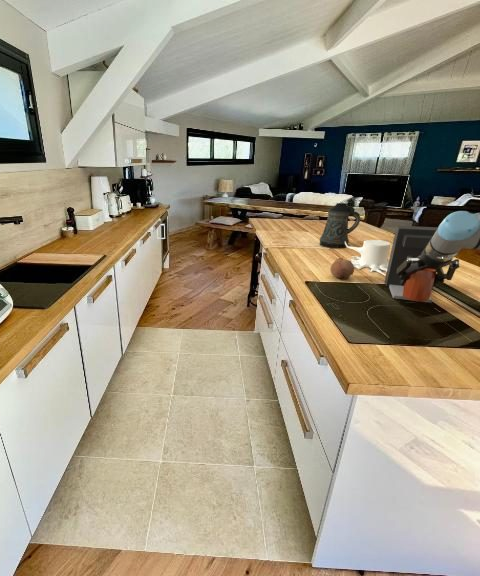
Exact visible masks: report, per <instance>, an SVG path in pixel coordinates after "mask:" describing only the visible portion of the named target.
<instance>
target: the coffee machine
mask: <svg viewBox="0 0 480 576" xmlns="http://www.w3.org/2000/svg"><path fill="white" fill-rule="evenodd" d="M437 229H438V226H436V227H435V226H415V225H414V226H413V225H396V227H395V232H394V237H393V240H392V244H391V250H390V253H389V254H390V255H389V258H388V259H389V260H388V261H389V262H388V263H389V264H388V268H387V272H385V274H386V276H385V277H384V278H385V279H384V284H385V285H384V286H385V287H386V288H388V289H389V291H390V294H391V296H392V299H396V300H405V301H412V302H415V301H414V300H410V299H407V298H405V297H403V296H402V292H403V288H404V285H403V286H401V280H400V276H398V275H397V268H398V267H399V266H400V265H401V264H402V263H403V262H404V261H405V260H407V256H411V257H412V258H417V257H419V256H421V254H422V252H423V250H424V249H425V247H426V246H427V244H428V243H429V241H430V240H431V238H432V237H433V235H434V234H435V232H436V230H437ZM415 263H416V262H415ZM415 263H413V264H415ZM404 284H405V283H404ZM419 302H421V303H429V304H432V303H433V299H432V297H431V296H430V299H429V300H428V301H419Z"/></svg>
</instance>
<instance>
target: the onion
mask: <svg viewBox="0 0 480 576" xmlns="http://www.w3.org/2000/svg"><path fill="white" fill-rule="evenodd" d="M349 260H350V259H345V258H343V257H338V258H336V259H335V260H334V261H333V262H332V264H331V265H330V268H329V269H330V273H331V275H332V276H333V277H334V278H336V279H338V280H343V281H344V280H346V279H349V278H350V277H351V276H353V274H354V272H355V267H354V265H353V264H352V262H351V261H349Z"/></svg>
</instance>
